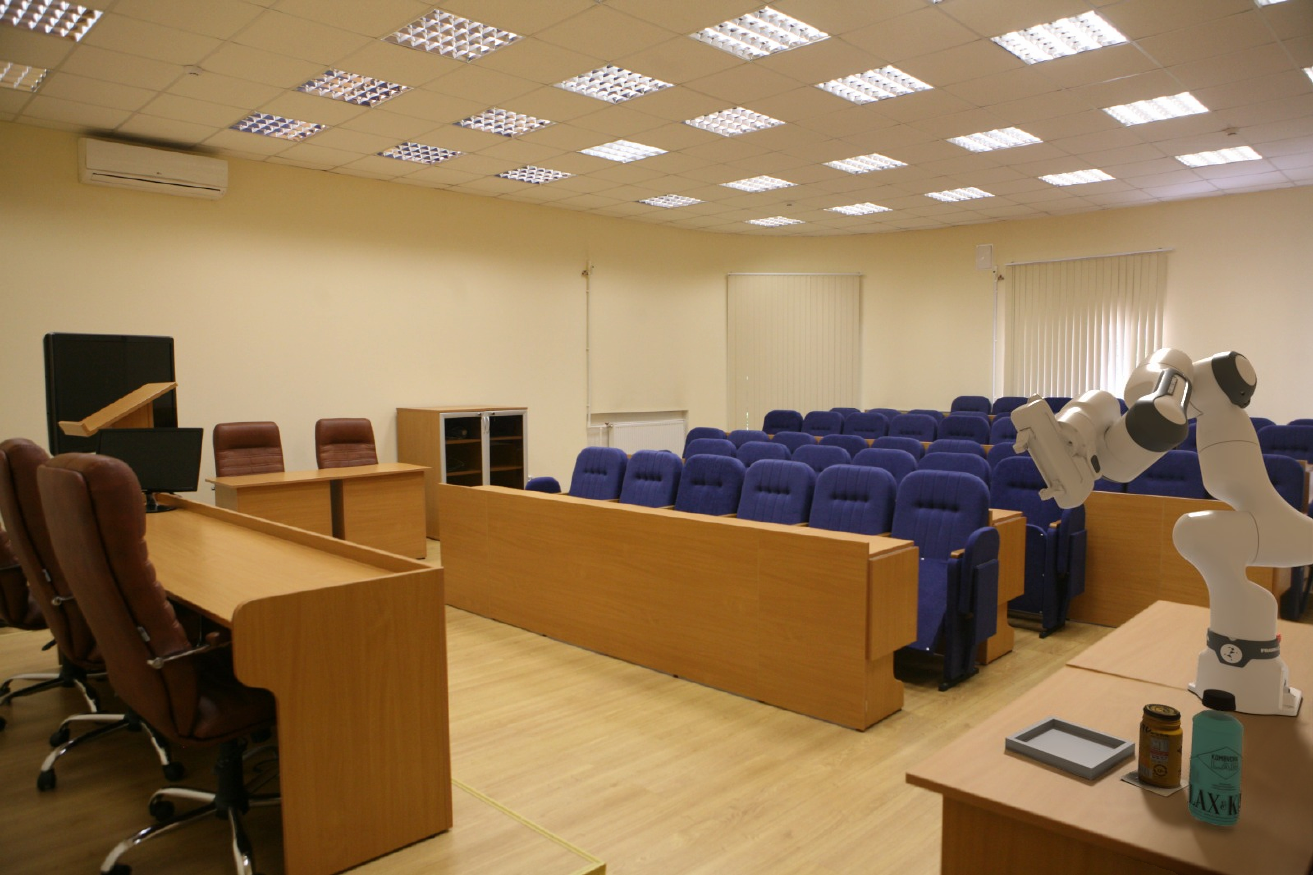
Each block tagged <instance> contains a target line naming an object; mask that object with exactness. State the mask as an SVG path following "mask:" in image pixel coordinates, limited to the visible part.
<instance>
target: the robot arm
mask: <svg viewBox="0 0 1313 875" xmlns="http://www.w3.org/2000/svg"><path fill="white" fill-rule="evenodd" d="M1257 384H1258V379H1257V374H1256V371H1255V369H1254V367H1253V365H1252V363H1251V362H1250V361H1249V360H1248V358H1247V357H1246V356H1244V354H1241V353H1239V352H1237V351H1235V350H1230V351H1224V352H1219V353H1215V354H1213V355H1212V356H1210V357H1206V358H1203V359H1200V360H1196V361H1192V359H1191V357H1190V356H1189V355H1188V354H1187V353H1185V352H1183V351H1182V350H1180V349H1178V348H1177V349H1176V348H1170V347H1169V348H1168V347H1167V348H1165V347H1164V348H1160V349H1157V350H1155V351H1153V352H1151V353H1150V354H1148V355H1147V356H1146V357H1144V358H1143V360H1142V361H1140V362H1139V363H1138V365H1137V366H1136V367H1135V368H1134V370H1133V372H1132V373H1131V375H1130V377H1129V378H1128V380H1127V381H1126V384H1125V387H1124V392H1123V400H1124V404H1125V406H1126V407H1127V408H1128V410H1127V411H1126V412H1125V413H1124V414H1123V415H1122V414H1121V404H1120V401H1119V400H1118V398H1116V396H1115V395H1114V394H1112V393H1110V392H1109V391H1106V390H1103V389H1102V390H1101V389H1092V390H1087V391H1084V392H1082V393H1080V394H1078V395H1076V396H1074V397H1073V398H1071V400H1069V401H1068V402H1067V403H1066V404H1065V405H1064V406H1063V407H1062V408H1061V409H1060V411H1059V412H1056V413H1055V414H1054V412H1053V410H1052V408H1051V407H1050V405H1049V404H1048V402H1047V401H1046V399H1045V397H1041V395H1040V394H1038V393H1033V394H1031V396H1029V398H1028V399H1027V403H1026V404H1023V405H1022V404H1021V405H1020V406H1018V407H1017V408H1015V409H1013V410H1012V411H1011V412H1010V421H1011V423H1012V424H1013V426H1014V429H1015V430H1016V431H1017V433H1016V437H1015V438H1016V439H1015V444H1014V445H1012V448H1013V450H1014V452H1015V454H1017V455H1018V454H1022V453H1024V452H1026V451H1028V453H1029V456H1031V459H1032V460H1033V463H1034V464H1035V466H1036V467H1037V470H1038V471H1039V473H1040V474H1041V477H1042V479H1043V480H1044V482H1045V484H1046V486H1047V488H1042V489H1040V491H1038V495H1039V498H1040V499H1041V501H1046V500H1050V499H1051V498H1054V500H1055V502H1056V504H1057V506H1058V507H1059V508H1060V509H1064V510H1066V509H1068V510H1069V509H1073V508H1078V507H1080V506H1081V505H1082V504H1083V503H1084V502H1085V501H1086V500H1087V498H1088V497H1090V494H1091V493H1092V492H1093V489H1094V488H1095V481H1097V480H1099V479H1103V480H1105V481H1109V482H1113V483H1117V484H1118V483H1119V484H1126V483H1130V482H1132V481H1134V480H1135V478H1137V477H1138V476H1140V475H1142V473H1143V472H1144V471H1146V470H1147V469H1148V468H1150V467H1151V466H1152V465H1153V464H1155V463H1156V462H1157V461H1158V460H1159V459H1160V458H1162V457H1163V456H1164V455H1165V454H1167V453H1168V452H1169V451H1171V450H1172V449H1174V448H1176V447H1177V446H1178V445H1180V444H1181V443H1183V442H1184V441H1185V440H1186V439H1187V438H1188V436H1189V433H1190V432H1189V430H1190V428H1189V426H1190V425H1189V420H1190V419H1191V420H1192V419H1194V418H1196V430H1195V431H1196V433H1195V434H1196V436H1195V438H1196V449H1197V450H1196V451H1197V457H1198V461H1199V467H1200V472H1201V478H1202V484H1203V487H1204V490H1206V492H1208V494H1209V495H1210V496H1212V497H1213V498H1214V499H1216V500H1218V501H1221V502H1223V503H1225V504H1227V505H1229V506H1230V507H1232V509H1234V510H1219V509H1218V510H1216V509H1215V510H1214V509H1211V510H1209V509H1208V510H1200V511H1193V512H1192V511H1191V512H1187V513H1183V515H1181V516H1180V517H1179V518H1178V519H1177V521H1175V524H1174V526H1173V530H1172V537H1171V538H1172V543H1173V545H1174V547H1175V549H1176V551H1177V552H1178V554H1180V556H1181V557H1182V558H1184V559H1185V560H1186V561H1188V562H1189V563H1190V564H1191V565H1193V566H1194V567H1195V569H1197V571H1198V572H1199V573H1200V575H1201V576H1202V578H1203V580H1204V582H1205V584H1206V586H1207V590H1208V595H1209V614H1210V615H1209V627H1208V628H1207V631H1206V632H1207V633H1206V636H1205V639H1206V646H1207V647H1206V648H1205V649H1202V650H1201V651H1200V652H1198V655H1197V663H1196V673H1195V674H1196V675H1195V680H1194V681H1193V682H1189V683H1187V687H1186V688H1187V689H1188V690H1189V691H1191V692H1192V693H1195V694H1196V695H1197V696H1198V697H1199V698H1200V699H1201V700H1202V699H1203V692H1204V690H1206V689H1217V690H1223V691H1227V692H1229V693H1232V694H1233V695H1234V696H1235V702H1236V710H1235V711H1234V712H1240V713H1244V714H1245V713H1247V714H1254V715H1280V716H1281V715H1282V716H1291V717H1292V716H1293V717H1294V716H1297V714H1298V711H1299V708H1300V704H1301V700H1302V696H1303V695H1302V691H1301V690H1300V689H1297V688H1295V687H1292V686H1289V678H1290V677H1289V676H1290V673H1289V672H1290V668H1289V667H1288V666H1287V664H1286V663H1285V662H1284V661H1283V659H1282V658H1281V657H1280V654H1281V650H1280V649H1281V641H1282V634H1281V633H1277V631H1278V629H1277V628H1278V610H1279V609H1278V605H1279V604H1278V602H1277V599H1276V597H1275V595H1274V594H1272V592H1271V591H1269V590H1268V589H1267V588H1266V587H1265V588H1264V587H1263V586H1261V585H1259V584H1257V583H1256V582H1254V581H1251V580H1249V579H1248V577H1247V572H1246V569H1247V567H1262V568H1263V567H1264V568H1265V567H1267V568H1284V569H1285V568H1294V567H1302V566H1310V565H1313V518H1312V517H1310V516H1307V515H1306V514H1304V513H1303V512H1300V511H1299V510H1298V509H1296V508H1295V507H1293V506H1292V505H1291V504H1290V503H1288V502H1287V500H1285V499H1284V497H1282V496H1281V495H1280V494H1279V492H1278V491H1277V490H1276V488H1275V487H1274V485H1273V484H1272V481H1271V480H1270V477H1269V475H1268V470H1267V469H1266V465H1265V462H1264V461H1265V460H1264V457H1263V454H1262V448H1261V446H1260V445H1261V444H1260V440H1259V437H1258V434H1257V432H1256V428H1255V427H1254V425H1253V422H1252V420H1251V417H1249V414H1248V413H1247V411H1246V410H1245V409H1246V408H1247V407H1248V406H1249V405H1250V404H1251V400H1252V396H1254V394H1255V392H1256V388H1257Z"/></svg>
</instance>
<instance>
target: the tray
mask: <svg viewBox="0 0 1313 875" xmlns="http://www.w3.org/2000/svg"><path fill="white" fill-rule="evenodd" d="M1004 740H1005V741H1004V744H1005V745H1004V749H1005V750H1007V751H1011V752H1013V753H1016V754H1019V755H1021V756H1024V757H1027V758H1029V759H1032V760H1035V761H1038V762H1041V763H1043V764H1046V765H1049V766H1051V767H1054V768H1057V769H1059V770H1062V771H1065V772H1067V773H1069V774H1073V775H1076V776H1078V777H1081V778H1084V779H1087V780H1090V781H1093V780H1095V779H1096V778H1098V777H1099V776H1101V775H1103V774H1105V773H1106V772H1107V771H1109V770H1110V769H1113V768H1114V767H1116V766H1117V765H1119V764H1121V763H1122V762H1124V761H1126V760H1127V759H1128V758H1130V757H1132V756H1133V755H1135V754H1136V742H1135V741H1132V740H1129V739H1125V738H1122V737H1119V736H1115V735H1114V734H1113V735H1112V734H1110V733H1106V732H1104V731H1100V730H1098V729H1097V730H1096V729H1094V728H1091V727H1087V726H1085V725H1081V724H1078V723H1074V722H1073V721H1069V720H1066V719H1063V718H1059V717H1056V716H1053V715H1050V716H1047V717H1046V718H1043V719H1041V720H1039V721H1037V722H1035V723H1033V724H1032V725H1031V724H1030V725H1028V726H1027V727H1025V728H1023V729H1021V730H1019V731H1016V732H1014V733H1012V734H1010V735H1008V736H1007V737H1005V739H1004Z"/></svg>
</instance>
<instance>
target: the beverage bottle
mask: <svg viewBox="0 0 1313 875" xmlns="http://www.w3.org/2000/svg"><path fill="white" fill-rule="evenodd" d="M1201 704H1202V706H1203V707H1205V708H1206V709H1203V710H1202V711H1200V712H1197V713H1196V714H1194V715H1193V716H1192V717H1191V718H1192V720H1191V721H1192V727H1191V728H1192V729H1191V732H1192V733H1191V744H1190V745H1191V746H1190V747H1191V748H1190V757H1189V759H1188V760H1189V771H1188V780H1187V781H1188V782H1189V785H1188V791H1187V802H1186V804H1187V808H1188V811H1189V813H1190V815H1192V816H1193V817H1194V818H1196V819H1197V820H1200V821H1202V822H1205V823H1208V824H1211V825H1217V826H1222V827H1229V826H1234V825H1236V824H1237V823H1238V822H1239V819H1240V816H1241V815H1240V813H1241V810H1240V809H1241V806H1242V805H1241V804H1242V803H1241V802H1242V792H1241V787H1242V782H1243V780H1242V778H1243V776H1242V765H1243V759H1244V757H1243V754H1242V753H1243V737H1244V736H1243V735H1244V728H1245V727H1244V725H1243V724H1242V723H1241V722H1240V721H1239V720H1238V719H1237V718H1236V717H1235V715H1232V714H1231V712H1236V711H1235V710H1236V702H1235V696H1234V695H1233V694H1232V693H1229V692H1227V691H1223V690H1217V689H1206V690H1204V692H1203V699H1201ZM1207 708H1208V709H1207Z"/></svg>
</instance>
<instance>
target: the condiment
mask: <svg viewBox="0 0 1313 875" xmlns="http://www.w3.org/2000/svg"><path fill="white" fill-rule="evenodd" d="M1142 711H1143V714H1142V718H1141V719H1142V720H1140V722H1139V730H1138V731H1139V736H1138V738H1139V739H1138V759H1137V769H1136V770H1133V771H1130V772H1128V773H1126V774H1124V775H1121V776H1120V777H1119V779H1122V780H1123V781H1124V782H1128V783H1130V784H1133V785H1135V786H1137V787H1139V788H1141V789H1144V790H1146V791H1150V792H1153V793H1155V794H1157V795H1160V796H1163V797H1168V796H1170V795H1172V794H1173V793H1176V792H1178V791H1180V790H1182V789H1183V788H1185V787H1188V786H1189V782H1188V781H1189V780H1188V779H1184V778H1182V765H1183V764H1182V763H1183V762H1182V761H1183V760H1182V758H1183V741H1184V739H1183V738H1184V733H1183V732H1184V731H1183V728H1182V727H1181V725H1182V721H1181V717H1182V715H1181V712H1180V711H1179V710H1178V709H1177V708H1174V707H1172V706H1169V705H1165V704H1161V703H1160V704H1159V703H1150V704H1145V705H1144V706H1143V708H1142Z"/></svg>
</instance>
